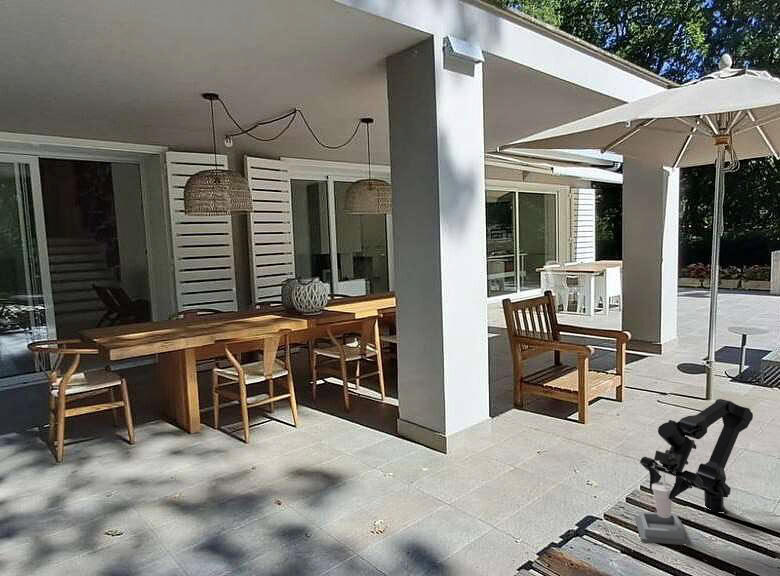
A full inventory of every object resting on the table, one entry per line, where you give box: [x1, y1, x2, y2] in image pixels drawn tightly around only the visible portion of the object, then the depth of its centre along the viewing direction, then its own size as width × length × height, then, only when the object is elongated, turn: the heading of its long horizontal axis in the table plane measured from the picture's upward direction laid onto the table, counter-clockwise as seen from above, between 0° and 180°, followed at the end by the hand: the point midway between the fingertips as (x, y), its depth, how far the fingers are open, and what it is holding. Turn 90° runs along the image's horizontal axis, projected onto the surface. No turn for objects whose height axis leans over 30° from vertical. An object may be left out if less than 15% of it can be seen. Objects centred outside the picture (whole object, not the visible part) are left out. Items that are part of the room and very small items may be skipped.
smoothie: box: [652, 473, 674, 518], centre depth 170 cm, size 6×6×14 cm
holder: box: [634, 510, 691, 546], centre depth 172 cm, size 14×14×4 cm
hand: (660, 495), depth 170 cm, fingers closed on smoothie, 6 cm apart
